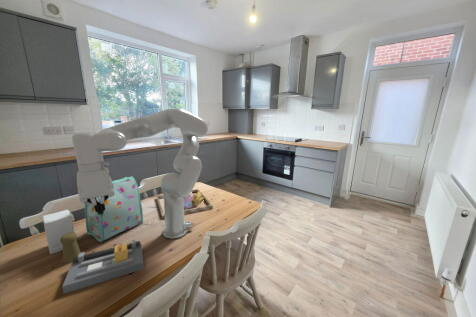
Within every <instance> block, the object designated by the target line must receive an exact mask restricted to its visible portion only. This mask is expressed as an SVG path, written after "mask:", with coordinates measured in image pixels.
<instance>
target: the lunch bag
mask: <svg viewBox="0 0 476 317" xmlns="http://www.w3.org/2000/svg"><path fill="white" fill-rule="evenodd" d="M112 184H113V191H114V193H115V195H114V196H112V197H110V198H108V199H107V200H106V201H105V202H104V204H105V210H104V212H103V214H100V215H98V212H95V207H94V205H93V204H91V203H89V202H83V204H84V211H85V212H84V214H85V227H86V228H85V229H86V232H87V234H88V235H91V236H92V237H93V238H94V239H95V240H97V242H99V243H102V242H103V241H104V242H105V241H106V240H108V239H111V238H112V237H114V236H116V235H118V234H120V233H121V232H125V231H126V230H129V229H131V228H134V227H136V226H139V225H141V224H143V223H144V215H143V214H144V213H143V207H142V200H141V196H140V195H141V194H140V189H139V185H138V183H137V181H136V179H135V178H134V176H132V175H131V176H125V177H123V178H120V179H117V180H115V179H114V180H112ZM96 198H97V201H98V202H100V197H96Z"/></svg>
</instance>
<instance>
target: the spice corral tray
mask: <svg viewBox="0 0 476 317" xmlns="http://www.w3.org/2000/svg"><path fill="white" fill-rule="evenodd" d="M198 191H200V190H199V189H198V188H195V189H192V191H191V192H198ZM201 195H202V197H204V200H205V201H204V202H205V203H206V205H203V206H197V207H194V208H193V207H192V208H187V209H184V216H185V215H189V214H194V213H198V212H203V211H207V210H212V209H214V208H213V207H214V206H213V204H212V202H210V201H209V199H208V197H206V196H205V195H204V194H203V193H202V194H201ZM155 198H157V199H156V201H157V202H156V203H157V204H158V205H157V206H158V208H159V212H160V216H161V218H162V220H165V213H164V211H163V208H162V204H161V201H160V199H159V198H161V199H164V198H163V194H159V195H156V197H155Z"/></svg>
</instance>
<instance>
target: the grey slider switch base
mask: <svg viewBox="0 0 476 317" xmlns="http://www.w3.org/2000/svg"><path fill="white" fill-rule="evenodd" d="M142 246H143V244H142V243H141V241H140V240H137V241H136V239H131V241H130V242H129V243H127V250H128V259H127V260H123V261H120V262H115V254H114V251H115V246H114V247H111V248H105V249H102V250H99V251H94V252H91V253H87V254H85V253H86V252H85V251H83V252H81V253H79V255H78V257H74V258H73V262H71V265H70V267H69V269H68V272H67V274H66V277H65V279H64V281H63V284H62V286H61V287H62V291H63V292H62V293H63V294H64V295H66V294H68V293H72V292H75V291H78V290H81V289H84V288H87V287H88V288H89V287H91V286H94V285H97V284H101V283H105V282H106V281H109V280H113V279H115V278H116V279H117V278H118V277H122V276H125V275H129V274H131V273H134V272H138V271H141V270H144V259H143V257H144V256H143V247H142Z"/></svg>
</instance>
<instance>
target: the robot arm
mask: <svg viewBox="0 0 476 317" xmlns="http://www.w3.org/2000/svg"><path fill="white" fill-rule="evenodd" d="M174 128H177V129H178V128H179V129H180V132H181V135H182V144H181V147H180V149H179V151H178V153H177V155H176V156H175V158H174V160H173V164H172V166H173V168H174V169H175V171H177V172H180V174H179V173H177V172H176V173H175V172H168V173H166V174H164V175H163V177H162V178H161V181H160V187H161V191H162V195H163V198H162V199H163V208H164V211H163V212H164V214H165V219H164V222H165V225H164V226H165V227H164V228H163V229H162V236H163V237H164V238H167V239H173V240H174V239H178V238H181V237H183V236H185V235H186V234H187V233H188V230H189V229H188V228H189V227H192V226H195V222H194V221H191V220H187V221H185V215H184V210H185V208H184V202H185V201H184V198H183V197H186V196H188V195H189V194H190V193H191V191H192V190H194V187H195V185H196V183H197V181H198V178H199V176H200V174H201V172H202V169H203V163H202V161H201V159H200V158H199V157H198V156H197V153H198V151H199V149H200V141H199V138H202V137H205V135H207V134H208V130H209V126H208V123H207V122H206V121H205V120H204V119H202V118H200V117H199V116H197V115H194V114H193V113H191V112H189V111H187V110H185V109H183V108H178V107H177V108H167V109H163V110H160V111H158V112H157V111H156V112H154V113H152V114H149V115H145V116H142V117H139V118H136V119H133V120H132V119H131V120H130V121H125V122H123V123H119V124H116V125H113V126H112V125H111V126H109V127H107V128H104V129H102V130H100V131H99V132H94V131H83V132H76V133H73V135H72V136H71V140H72V146H73V149H74V154H75V160H76V163H77V166H78V167H77V168H78V171H77V173H76V186H77V192H78V196H79V202H80V203H84V202H89V203H91V204H93V205H94V207H95V212H98V215H100V214H103V212H104V210H105V204H104V202H105V201H106V200H107V199H108V198H110V197H112V196H114V195H115V193H114V191H113V184H112V181H113V180H112V177H111V173H110V170H109V168H108V167H107V166H110V162H109V161H105V160H104V155H103V152H118V151H120V150H123V149H124V148H125V147H126V145H127V144H128V143H127V141H131V140H134V139H143V138H149V137H153V136H155V135H158V134H160V133H163V132H165V131H168V130H170V129H174ZM96 197H100V202H98V201H97V198H96Z"/></svg>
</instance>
